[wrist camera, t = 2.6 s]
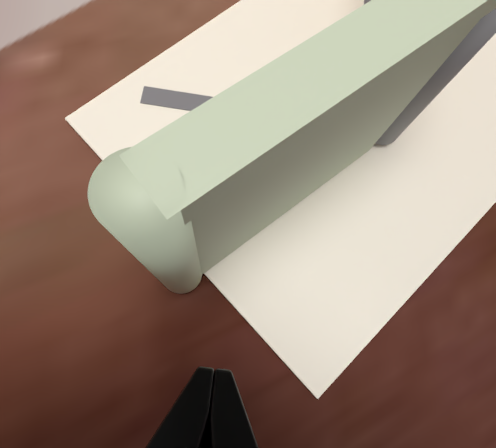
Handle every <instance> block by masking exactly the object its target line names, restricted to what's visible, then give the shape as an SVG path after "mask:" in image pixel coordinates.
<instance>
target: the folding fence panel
mask: <svg viewBox="0 0 496 448" xmlns="http://www.w3.org/2000/svg"><path fill="white" fill-rule="evenodd" d="M495 33H496V0H371V1H369V2H368V3H366V4H364V5H363V6H361V7H360V8H358V9H356V10H355V11H353V12H351V13H350V14H348V15H346V16H345V17H343V18H342V19H340V20H338V21H337V22H335V23H333V24H332V25H330V26H329V27H327V28H325V29H324V30H322V31H320V32H319V33H317V34H315V35H314V36H312V37H311V38H309V39H307V40H306V41H304V42H302V43H301V44H299V45H298V46H296V47H294V48H293V49H291V50H289V51H288V52H286V53H284V54H283V55H281V56H280V57H278V58H276V59H275V60H273V61H271V62H270V63H268V64H267V65H265V66H263V67H262V68H260V69H258V70H257V71H255V72H253V73H252V74H250V75H249V76H247V77H245V78H244V79H242V80H240V81H239V82H237V83H236V84H234V85H232V86H231V87H229V88H227V89H226V90H224V91H223V92H221V93H219V94H218V95H216V96H214V97H213V98H211V99H209V100H208V101H206V102H205V103H203V104H201V105H200V106H198V107H196V108H195V109H193V110H192V111H190V112H188V113H187V114H185V115H183V116H182V117H180V118H178V119H177V120H175V121H174V122H172V123H170V124H169V125H167V126H165V127H164V128H162V129H161V130H159V131H157V132H156V133H154V134H152V135H151V136H149V137H147V138H146V139H144V140H143V141H141V142H139V143H138V144H136V145H134V146H133V147H128V148H124V149H121V150H118V151H116V152H114V153H112V154H111V155H109V156H108V157H106V158H105V159H104V160H103V161H102V162H101V163H100V164H99V165H98V166H97V167H96V169H95V170H94V172H93V174H92V176H91V179H90V182H89V186H88V201H89V205H90V208H91V210H92V213H93V214H94V216H95V217H96V219H97V220H98V221H99V222H100V223H101V224H102V225H103V226H104V227H105V228H106V229H107V230H108V231H109V232H110V233H111V234H112V235H113V236H114V237H115V238H116V239H117V240H118V241H119V242H120V243H121V244H122V245H123V246H124V247H125V248H126V249H127V250H128V251H129V252H131V253H132V254H133V255H134V256H135V257H136V258H137V259H138V260H139V261H140V262H141V263H142V264H143V265H144V266H145V267H146V268H147V269H148V270H149V271H150V272H151V273H152V274H153V275H154V276H155V277H156V278H157V279H158V280H159V281H160V282H161V283H162V284H163V285H164V286H165V287H166V288H167V289H169V290H170V291H172V292H174V293H178V294H184V293H188V292H190V291H192V290H194V289H195V288H196V287H197V286H198V284H199V283H200V281H201V278H202V274H204V273H205V272H206V271H208V270H209V269H211V268H212V267H213V266H215V265H216V264H217V263H219V262H220V261H221V260H223V259H224V258H225V257H227V256H228V255H229V254H231V253H232V252H233V251H235V250H236V249H237V248H239V247H240V246H241V245H243V244H244V243H245V242H247V241H248V240H249V239H251V238H252V237H253V236H255V235H256V234H258V233H259V232H260V231H262V230H263V229H264V228H266V227H267V226H268V225H270V224H271V223H272V222H274V221H275V220H276V219H278V218H279V217H280V216H282V215H283V214H284V213H286V212H287V211H288V210H290V209H291V208H292V207H294V206H295V205H296V204H298V203H299V202H300V201H302V200H303V199H305V198H306V197H307V196H309V195H310V194H311V193H313V192H314V191H315V190H317V189H318V188H319V187H321V186H322V185H323V184H325V183H326V182H327V181H329V180H330V179H331V178H333V177H334V176H335V175H337V174H338V173H339V172H341V171H342V170H343V169H345V168H346V167H347V166H349V165H350V164H352V163H353V162H354V161H356V160H357V159H358V158H360V157H361V156H362V155H364V154H365V153H366V152H368V151H369V150H370V149H371V148H372V146H373V145H374V144H379V145H388V144H390V143H392V142H394V141H395V140H396V139H397V138H398V137H399V136H400V135H401V133H402V132H403V131H404V130H405V129H406V128H407V127H408V126H409V125H410V124H411V123H412V122H413V121H414V120H415V119H416V118H417V116H418V115H419V114H420V113H421V112H422V111H423V110H424V109H425V108H426V107H427V106H428V105H429V104H430V103H431V102H432V100H433V99H434V98H435V97H436V96H437V95H438V94H439V93H440V92H441V91H442V90H443V89H444V88H445V87H446V86H447V84H448V83H449V82H450V81H451V80H452V79H453V78H454V77H455V76H456V75H457V74H458V73H459V72H460V71H461V70H462V68H463V67H464V66H465V65H466V64H467V63H468V62H469V61H470V60H471V59H472V58H473V57H474V56H475V55H476V54H477V53H478V51H479V50H480V49H481V48H482V47H483V46H484V45H485V44H486V43H487V42H488V41H489V40H490V39H491V38H492V37H493V35H494V34H495Z"/></svg>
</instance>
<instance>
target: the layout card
mask: <svg viewBox="0 0 496 448" xmlns="http://www.w3.org/2000/svg"><path fill="white" fill-rule="evenodd" d="M369 1H371V0H241V1H239V2H238V3H236V4H235V5H233V6H232V7H230V8H229V9H227V10H226V11H224V12H223V13H221V14H220V15H218V16H217V17H215V18H214V19H212V20H211V21H209V22H208V23H206V24H205V25H203V26H202V27H200V28H199V29H197V30H196V31H194V32H193V33H191V34H190V35H188V36H187V37H185V38H184V39H182V40H181V41H179V42H178V43H176V44H175V45H173V46H172V47H170V48H169V49H167V50H166V51H164V52H163V53H161V54H160V55H158V56H157V57H155V58H154V59H153V60H151V61H150V62H148V63H147V64H145V65H144V66H142V67H141V68H139V69H138V70H136V71H135V72H133V73H132V74H130V75H129V76H127V77H126V78H124V79H123V80H121V81H120V82H118V83H117V84H115V85H114V86H112V87H111V88H109V89H108V90H106V91H105V92H103V93H102V94H100V95H99V96H97V97H96V98H94V99H93V100H91V101H90V102H88V103H87V104H85V105H84V106H82V107H81V108H79V109H78V110H76V111H75V112H73V113H72V114H70V115H69V116H67V117H66V118H65V119H66V121H67V122H68V123H69V124H70V125H71V126H72V128H73V129H74V130H75V131H76V132H77V133H78V134H79V135H80V136H81V138H82V139H83V140H84V141H85V142H86V143H87V144H88V145H89V146H90V148H91V149H92V150H93V151H94V152H95V153H96V154H97V155H98V156H99V158H100V159H101V160H102V161H103V160H104V159H105V158H106V157H108V156H109V155H111V154H112V153H114V152H116V151H118V150H121V149H124V148H128V147H133V146H134V145H136V144H138V143H139V142H141V141H143V140H144V139H146V138H147V137H149V136H151V135H152V134H154V133H156V132H157V131H159V130H161V129H162V128H164V127H165V126H167V125H169V124H170V123H172V122H174V121H175V120H177V119H178V118H180V117H182V116H183V115H185V114H187V113H188V112H190V111H192V110H193V109H195V108H196V107H198V106H200V105H201V104H203V103H205V102H206V101H208V100H209V99H211V98H213V97H214V96H216V95H218V94H219V93H221V92H223V91H224V90H226V89H227V88H229V87H231V86H232V85H234V84H236V83H237V82H239V81H240V80H242V79H244V78H245V77H247V76H249V75H250V74H252V73H253V72H255V71H257V70H258V69H260V68H262V67H263V66H265V65H267V64H268V63H270V62H271V61H273V60H275V59H276V58H278V57H280V56H281V55H283V54H284V53H286V52H288V51H289V50H291V49H293V48H294V47H296V46H298V45H299V44H301V43H302V42H304V41H306V40H307V39H309V38H311V37H312V36H314V35H315V34H317V33H319V32H320V31H322V30H324V29H325V28H327V27H329V26H330V25H332V24H333V23H335V22H337V21H338V20H340V19H342V18H343V17H345V16H346V15H348V14H350V13H351V12H353V11H355V10H356V9H358V8H360V7H361V6H363V5H364V4H366V3H368V2H369ZM495 202H496V33H495V34H494V35H493V37H492V38H491V39H490V40H489V41H488V42H487V43H486V44H485V45H484V46H483V47H482V48H481V49H480V50H479V51H478V53H477V54H476V55H475V56H474V57H473V58H472V59H471V60H470V61H469V62H468V63H467V64H466V65H465V66H464V67H463V68H462V70H461V71H460V72H459V73H458V74H457V75H456V76H455V77H454V78H453V79H452V80H451V81H450V82H449V83H448V84H447V86H446V87H445V88H444V89H443V90H442V91H441V92H440V93H439V94H438V95H437V96H436V97H435V98H434V99H433V100H432V102H431V103H430V104H429V105H428V106H427V107H426V108H425V109H424V110H423V111H422V112H421V113H420V114H419V115H418V116H417V118H416V119H415V120H414V121H413V122H412V123H411V124H410V125H409V126H408V127H407V128H406V129H405V130H404V131H403V132H402V133H401V135H400V136H399V137H398V138H397V139H396V140H395V141H394V142H392V143H390V144H388V145H379V144H374V145H373V146H372V148H371V149H370V150H369V151H368V152H366V153H365V154H364V155H362V156H361V157H360V158H358V159H357V160H356V161H354V162H353V163H352V164H350V165H349V166H347V167H346V168H345V169H343V170H342V171H341V172H339V173H338V174H337V175H335V176H334V177H333V178H331V179H330V180H329V181H327V182H326V183H325V184H323V185H322V186H321V187H319V188H318V189H317V190H315V191H314V192H313V193H311V194H310V195H309V196H307V197H306V198H305V199H303V200H302V201H300V202H299V203H298V204H296V205H295V206H294V207H292V208H291V209H290V210H288V211H287V212H286V213H284V214H283V215H282V216H280V217H279V218H278V219H276V220H275V221H274V222H272V223H271V224H270V225H268V226H267V227H266V228H264V229H263V230H262V231H260V232H259V233H258V234H256V235H255V236H253V237H252V238H251V239H249V240H248V241H247V242H245V243H244V244H243V245H241V246H240V247H239V248H237V249H236V250H235V251H233V252H232V253H231V254H229V255H228V256H227V257H225V258H224V259H223V260H221V261H220V262H219V263H217V264H216V265H215V266H213V267H212V268H211V269H209V270H208V271H206V272H205V273H204V274H205V275H206V276H207V278H208V279H209V280H210V281H211V282H212V283H213V284H214V285H215V286H216V288H217V289H218V290H219V291H220V292H221V293H222V294H223V295H224V296H225V298H226V299H227V300H228V301H229V302H230V303H231V304H232V305H233V306H234V308H235V309H236V310H237V311H238V312H239V313H240V314H241V315H242V316H243V318H244V319H245V320H246V321H247V322H248V323H249V324H250V325H251V326H252V328H253V329H254V330H255V331H256V332H257V333H258V334H259V335H260V336H261V338H262V339H263V340H264V341H265V342H266V343H267V344H268V345H269V346H270V348H271V349H272V350H273V351H274V352H275V353H276V354H277V355H278V356H279V358H280V359H281V360H282V361H283V362H284V363H285V364H286V365H287V366H288V368H289V369H290V370H291V371H292V372H293V373H294V374H295V375H296V376H297V378H298V379H299V380H300V381H301V382H302V383H303V384H304V385H305V386H306V388H307V389H308V390H309V391H310V392H311V393H312V394H313V395H314V396H315V398H317V399H318V398H319V397H320V396H321V395H322V394H323V393H324V392H325V390H326V389H327V388H328V387H329V386H330V385H331V384H332V383H333V382H334V380H335V379H336V378H337V377H338V376H339V375H340V374H341V373H342V372H343V370H344V369H345V368H346V367H347V366H348V365H349V364H350V363H351V362H352V361H353V359H354V358H355V357H356V356H357V355H358V354H359V353H360V352H361V351H362V349H363V348H364V347H365V346H366V345H367V344H368V343H369V342H370V341H371V339H372V338H373V337H374V336H375V335H376V334H377V333H378V332H379V331H380V330H381V328H382V327H383V326H384V325H385V324H386V323H387V322H388V321H389V320H390V318H391V317H392V316H393V315H394V314H395V313H396V312H397V311H398V310H399V308H400V307H401V306H402V305H403V304H404V303H405V302H406V301H407V300H408V299H409V297H410V296H411V295H412V294H413V293H414V292H415V291H416V290H417V289H418V287H419V286H420V285H421V284H422V283H423V282H424V281H425V280H426V279H427V277H428V276H429V275H430V274H431V273H432V272H433V271H434V270H435V269H436V267H437V266H438V265H439V264H440V263H441V262H442V261H443V260H444V259H445V258H446V256H447V255H448V254H449V253H450V252H451V251H452V250H453V249H454V248H455V246H456V245H457V244H458V243H459V242H460V241H461V240H462V239H463V238H464V236H465V235H466V234H467V233H468V232H469V231H470V230H471V229H472V228H473V227H474V225H475V224H476V223H477V222H478V221H479V220H480V219H481V218H482V217H483V215H484V214H485V213H486V212H487V211H488V210H489V209H490V208H491V207H492V205H493V204H494V203H495Z"/></svg>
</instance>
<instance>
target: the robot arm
mask: <svg viewBox="0 0 496 448" xmlns="http://www.w3.org/2000/svg"><path fill="white" fill-rule="evenodd" d="M146 448H258V445H257V442H256V439H255V436H254V433H253V430H252V428H251V425H250V422H249V419H248V416H247V413H246V410H245V407H244V405H243V402H242V399H241V396H240V393H239V390H238V387H237V385H236V382H235V379H234V376H233V373H232V372H231V371H230V370H226V369H216V370H215V372H214V369H213V368H210V367H202V366H200V367H198V368H197V369H196V371H195V372H194V374H193V375H192V377H191V378H190V380H189V382H188V383H187V385H186V386H185V388H184V389H183V391H182V392H181V394H180V395H179V397H178V399H177V400H176V402H175V403H174V405H173V406H172V408H171V409H170V411H169V412H168V414H167V415H166V417H165V419H164V420H163V422H162V423H161V425H160V426H159V428H158V429H157V431H156V432H155V434H154V436H153V437H152V439H151V440H150V442H149V443H148V445H147V446H146Z"/></svg>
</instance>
